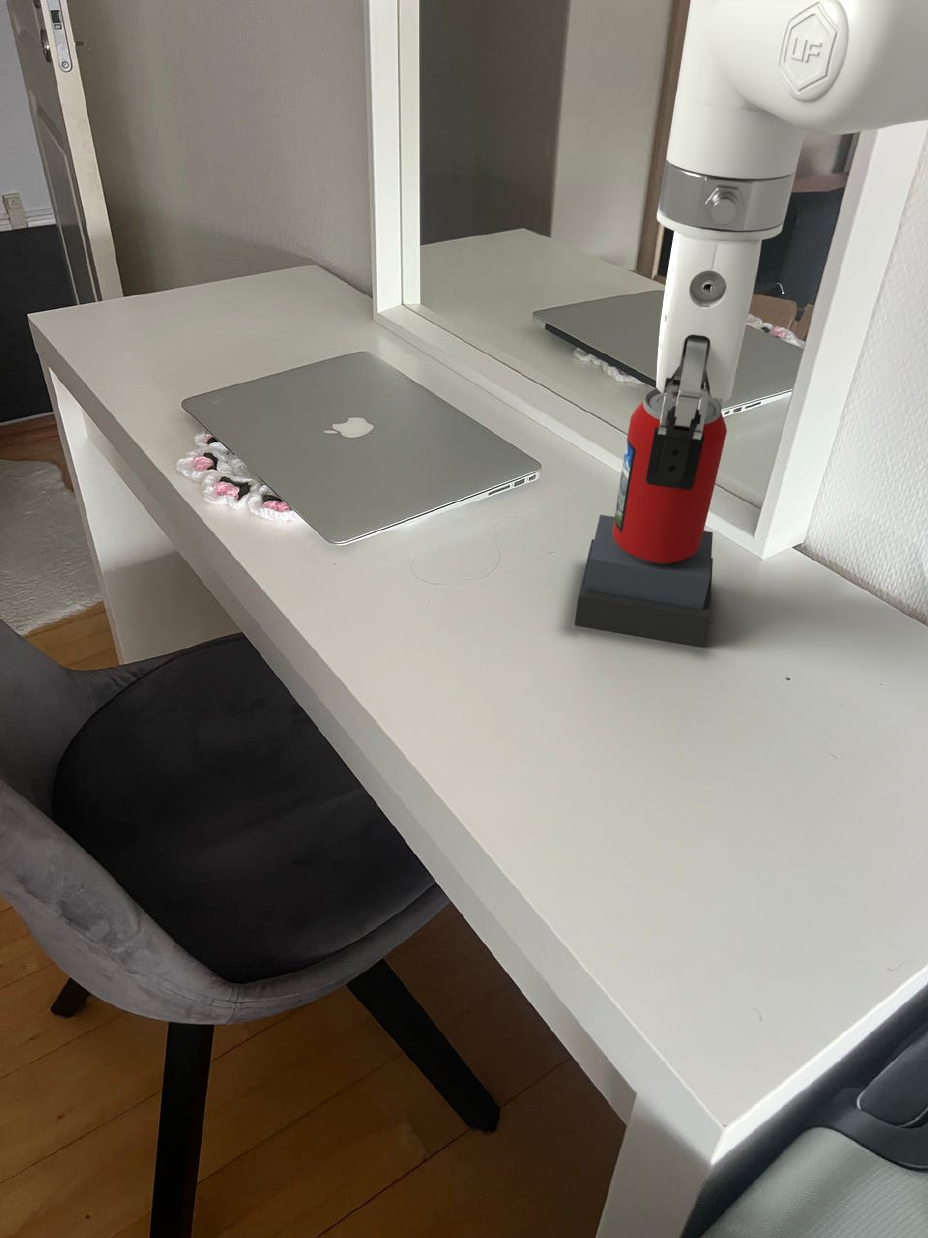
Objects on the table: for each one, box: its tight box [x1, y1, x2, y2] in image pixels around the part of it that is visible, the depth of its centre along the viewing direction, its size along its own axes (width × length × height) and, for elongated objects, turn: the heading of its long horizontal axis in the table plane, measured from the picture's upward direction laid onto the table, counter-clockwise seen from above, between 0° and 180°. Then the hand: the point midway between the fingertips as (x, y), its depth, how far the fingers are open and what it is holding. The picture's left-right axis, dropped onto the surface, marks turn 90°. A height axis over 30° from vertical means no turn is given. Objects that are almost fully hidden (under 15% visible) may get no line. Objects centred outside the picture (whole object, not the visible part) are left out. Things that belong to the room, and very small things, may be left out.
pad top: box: [586, 514, 714, 609], centre depth 72 cm, size 9×6×3 cm
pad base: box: [574, 538, 714, 648], centre depth 74 cm, size 10×8×3 cm
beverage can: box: [613, 387, 728, 563], centre depth 67 cm, size 7×7×12 cm
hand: (673, 451), depth 65 cm, fingers open, 9 cm apart
